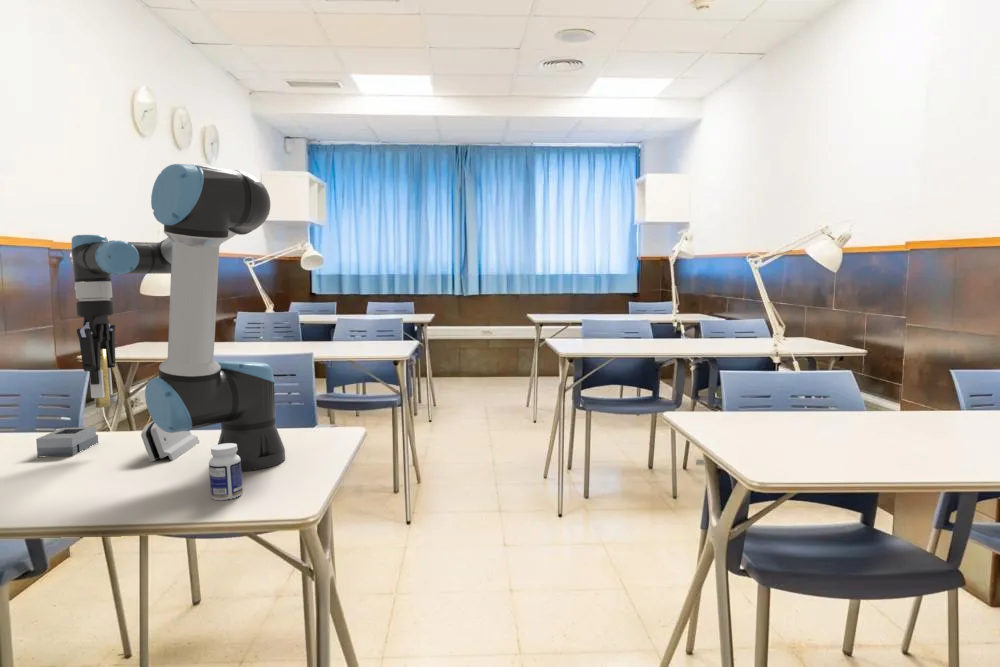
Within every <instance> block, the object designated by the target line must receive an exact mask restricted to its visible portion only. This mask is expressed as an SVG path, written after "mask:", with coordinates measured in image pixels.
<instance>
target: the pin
mask: <svg viewBox="0 0 1000 667" xmlns="http://www.w3.org/2000/svg"><path fill="white" fill-rule="evenodd" d="M100 370H103V381H104V394H105V397H103V398H94V406H95V407H94V408H108V407H110V406H111V395H110V392H109V379H108V367H107V354H106V349H100Z"/></svg>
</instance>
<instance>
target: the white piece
mask: <svg viewBox="0 0 1000 667" xmlns="http://www.w3.org/2000/svg"><path fill="white" fill-rule="evenodd" d="M191 432H192V431H191V430H190V431H181V432H175V433H169V432H165V431H163V430H162V429H160V428H159V427H158V426H157V425H156V424H155V422H154V421H153V420H152V421H150V422H149V423H148V424H147V425H146V426H145V427H144V428H143V430H142V432H141V433H140V436H141V439H142V442H143V446H144V448H145V450H146V453H147V455H148V458H149V462H150V461H151V462H155V461H157V460H159V459H164V458H166V457H167V456H168V458H169V460H170V462H173V461H175V460H177V458H179V457H181V456H182V455H183V454H185V453H186V452H188V451H190V450H191V449H192V448H194V447H195V446H197V445H198V444H200V443H199V442H200V440H199V437H198V436H197V435H194V434H192V433H191ZM196 444H197V445H196Z"/></svg>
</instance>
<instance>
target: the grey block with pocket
mask: <svg viewBox="0 0 1000 667" xmlns="http://www.w3.org/2000/svg"><path fill="white" fill-rule="evenodd" d="M35 441H36V442H35V444H36V452H37V454H36V455H37V457H38V456H57V457H69V456H68V455H74V456H76V455H78V454H79V453H78V452H80V451H82V450H84V449H86V448H88V447H90V446H92V445H94V444H96V443H98V444H99V435H98V434H97V430H96V426H85V427H62V428H59V429H57V430H55V431H52V432H49V433H47V434H44V435H42V436H40V437H37V438H36V440H35ZM96 445H97V444H96ZM94 446H95V445H94ZM92 447H93V446H92ZM90 448H91V447H90ZM88 449H89V448H88ZM86 450H87V449H86ZM84 451H85V450H84ZM82 452H83V451H82ZM77 453H78V454H77ZM80 453H81V452H80ZM75 454H76V455H75Z"/></svg>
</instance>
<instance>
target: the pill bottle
mask: <svg viewBox="0 0 1000 667" xmlns="http://www.w3.org/2000/svg"><path fill="white" fill-rule="evenodd" d="M210 452H211V453H210V454H211V455H212V457H211V458H210V459H209V462H208V469H209V472H208V473H209V484H210V485H209V486H210V496H211V499H212V500H215V501H229V500H228V499H230V500H233V499H232V498H234V499H236V497H237V498H238V496H239V497H241V495H242V494H243V492H244V491H243V490H244V489H243V476H242V471H241V459H240V457H239V456H238V455H236V452H237V444H234V443H225V444H219V445H218V444H216V445H213V446H212V447H210Z"/></svg>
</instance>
